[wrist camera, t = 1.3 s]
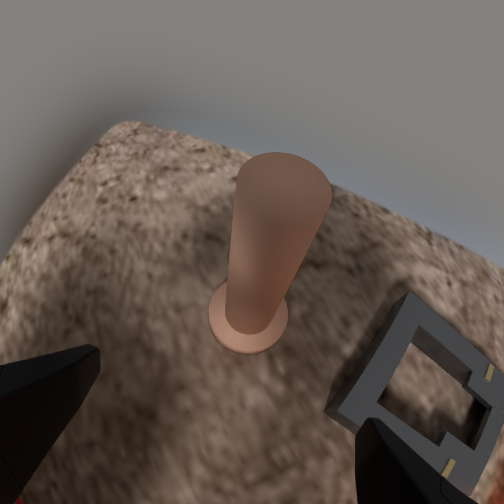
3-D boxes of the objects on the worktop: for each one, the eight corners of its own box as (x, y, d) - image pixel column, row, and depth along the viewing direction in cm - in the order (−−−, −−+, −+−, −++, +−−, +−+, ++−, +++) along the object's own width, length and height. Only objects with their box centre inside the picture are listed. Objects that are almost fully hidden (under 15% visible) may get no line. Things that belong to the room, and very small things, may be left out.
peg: (210, 355, 22) (202, 255, 9) (208, 284, 25) (205, 133, 12) (288, 351, 23) (380, 252, 10) (279, 282, 26) (338, 140, 13)
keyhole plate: (323, 412, 20) (338, 410, 18) (394, 303, 26) (410, 289, 23) (450, 493, 16) (471, 496, 13) (497, 392, 21) (516, 385, 19)
